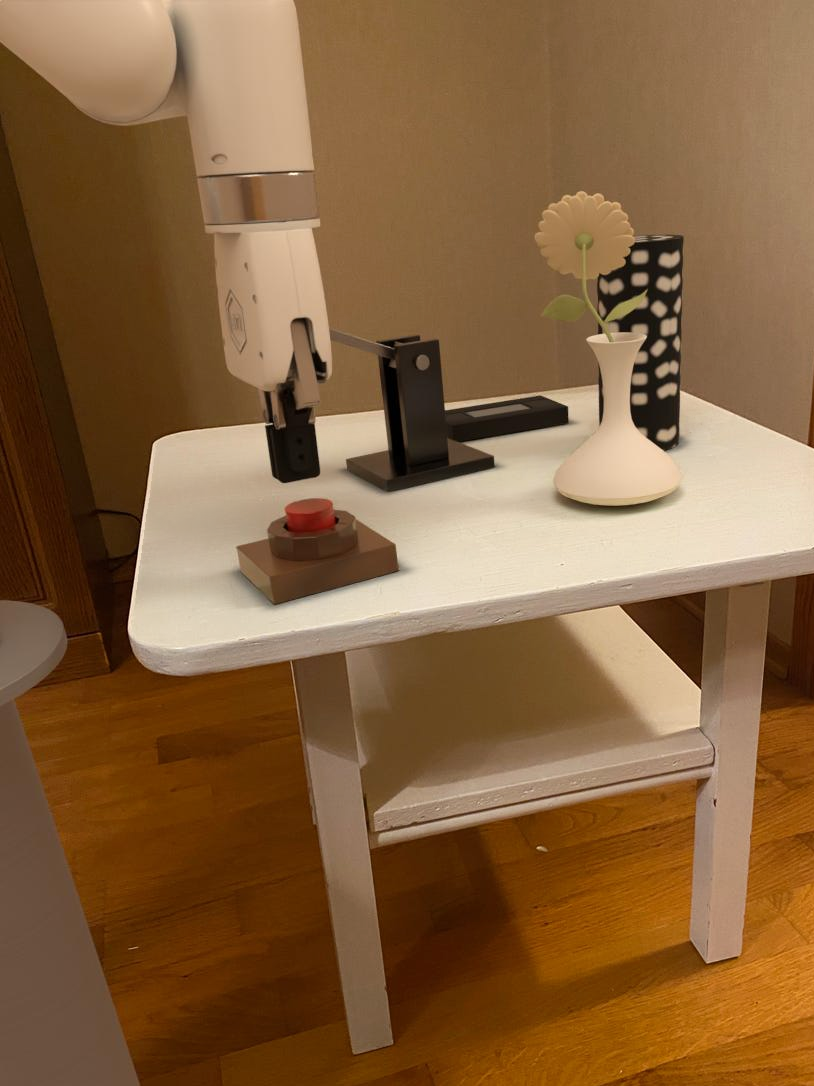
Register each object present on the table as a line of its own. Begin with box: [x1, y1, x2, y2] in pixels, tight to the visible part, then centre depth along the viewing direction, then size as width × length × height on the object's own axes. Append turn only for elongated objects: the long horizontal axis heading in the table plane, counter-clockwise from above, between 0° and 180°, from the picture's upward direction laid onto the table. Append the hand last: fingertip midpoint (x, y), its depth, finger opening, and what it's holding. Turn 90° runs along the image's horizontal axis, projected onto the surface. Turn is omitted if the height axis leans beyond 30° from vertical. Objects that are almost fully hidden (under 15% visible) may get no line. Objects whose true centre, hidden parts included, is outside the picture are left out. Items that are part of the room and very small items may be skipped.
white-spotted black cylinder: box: [596, 234, 685, 452], centre depth 97 cm, size 8×8×20 cm
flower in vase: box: [534, 190, 684, 507], centre depth 81 cm, size 13×11×25 cm
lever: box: [329, 327, 403, 368], centre depth 89 cm, size 17×3×3 cm, turn 120°
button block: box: [235, 508, 399, 605], centre depth 74 cm, size 10×8×4 cm
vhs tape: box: [445, 394, 570, 443], centre depth 111 cm, size 8×14×2 cm, turn 112°
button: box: [284, 497, 336, 533], centre depth 72 cm, size 4×4×2 cm
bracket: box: [345, 334, 496, 493], centre depth 95 cm, size 12×10×13 cm
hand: (296, 477), depth 71 cm, fingers closed
